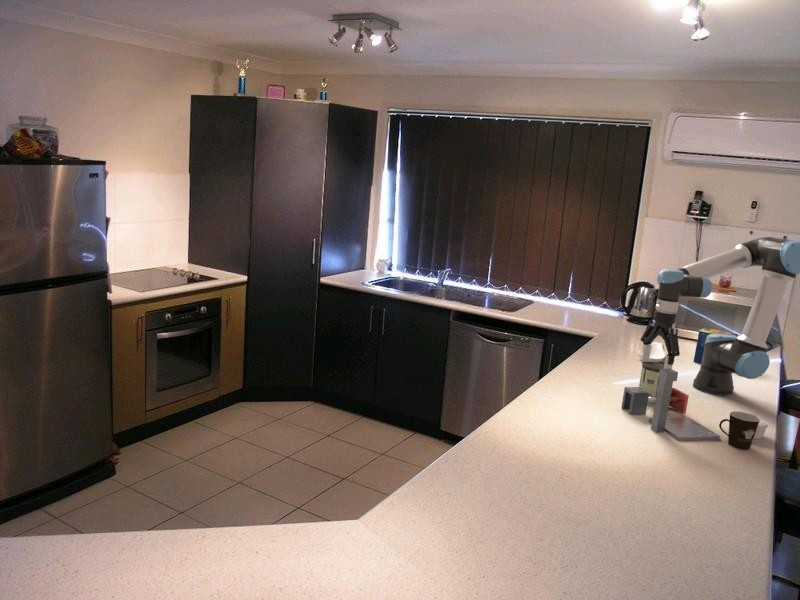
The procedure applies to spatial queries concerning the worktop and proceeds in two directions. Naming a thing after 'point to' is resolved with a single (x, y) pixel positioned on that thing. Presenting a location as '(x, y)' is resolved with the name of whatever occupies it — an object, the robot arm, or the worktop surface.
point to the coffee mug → (741, 429)
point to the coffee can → (650, 378)
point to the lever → (676, 400)
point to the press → (665, 410)
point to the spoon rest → (655, 352)
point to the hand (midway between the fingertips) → (655, 367)
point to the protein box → (702, 339)
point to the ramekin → (760, 429)
